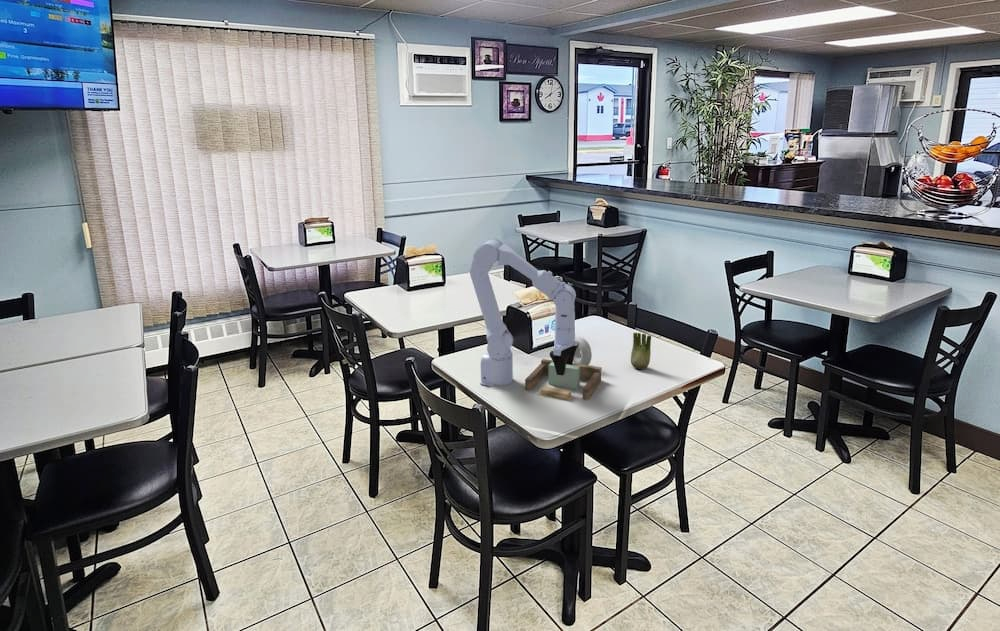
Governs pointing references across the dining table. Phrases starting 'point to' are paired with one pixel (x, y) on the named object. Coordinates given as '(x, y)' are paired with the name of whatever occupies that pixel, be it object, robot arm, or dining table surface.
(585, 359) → the donut
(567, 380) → the board
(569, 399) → the offcut lower
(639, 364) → the fennel bulb
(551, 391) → the offcut upper
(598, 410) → the dining table surface
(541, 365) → the frame
